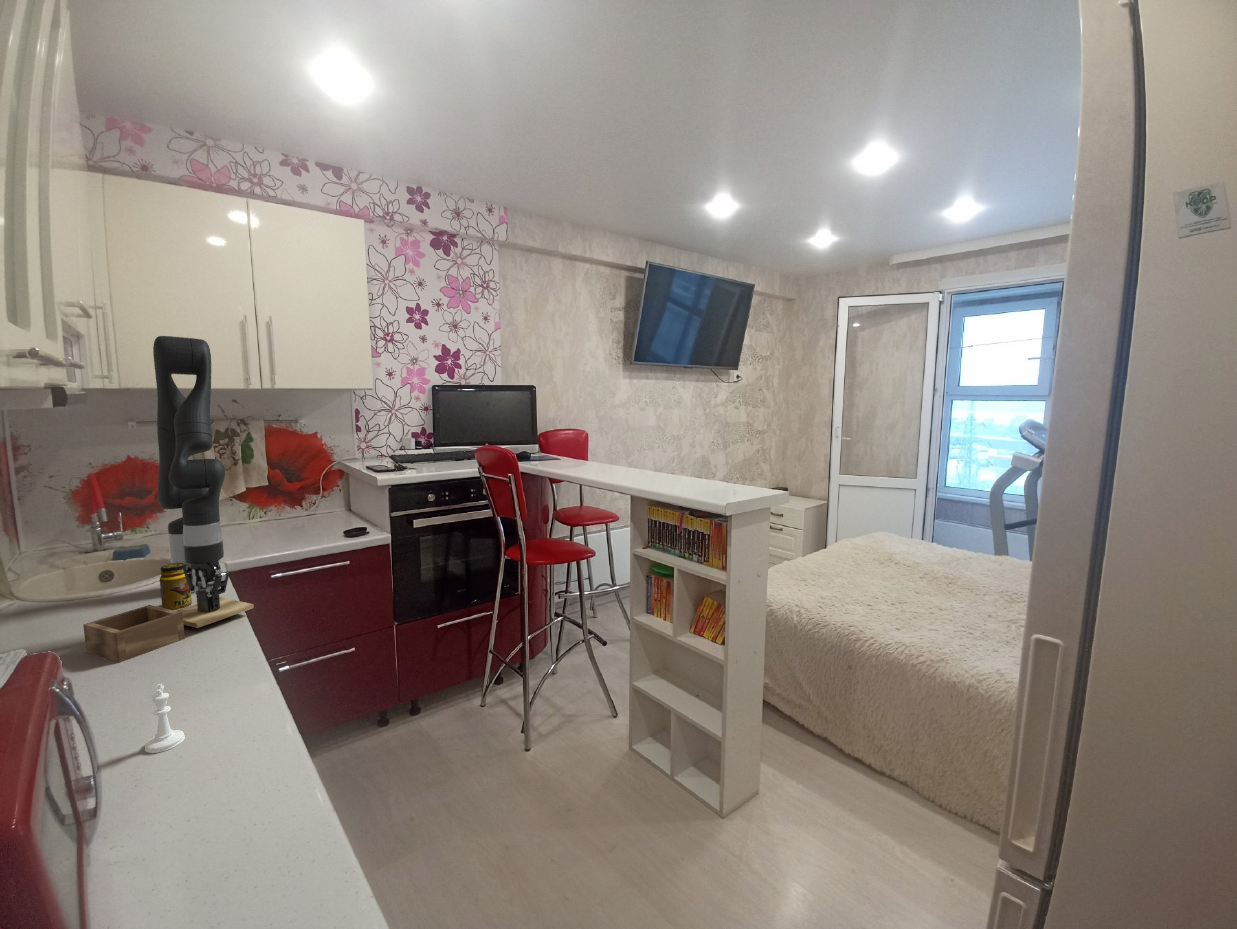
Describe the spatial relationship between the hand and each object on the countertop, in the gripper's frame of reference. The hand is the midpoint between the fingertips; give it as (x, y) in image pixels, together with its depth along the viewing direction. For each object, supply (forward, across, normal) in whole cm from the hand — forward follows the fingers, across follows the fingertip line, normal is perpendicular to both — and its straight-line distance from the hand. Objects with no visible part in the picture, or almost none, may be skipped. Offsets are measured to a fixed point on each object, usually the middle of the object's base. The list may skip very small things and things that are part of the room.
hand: (208, 608), depth 131 cm
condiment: (+4, +18, -2) cm, 18 cm away
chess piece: (+4, -43, +33) cm, 54 cm away
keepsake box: (+4, 0, +15) cm, 15 cm away
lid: (+1, 0, 0) cm, 1 cm away
